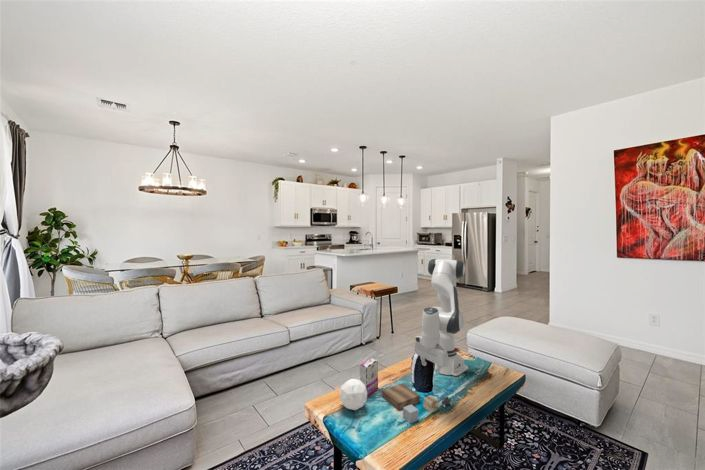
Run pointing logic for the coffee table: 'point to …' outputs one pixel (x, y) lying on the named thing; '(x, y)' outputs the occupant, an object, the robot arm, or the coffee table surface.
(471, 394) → the coffee table surface
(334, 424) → the coffee table surface
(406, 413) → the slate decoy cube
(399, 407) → the walnut base block
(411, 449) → the coffee table surface
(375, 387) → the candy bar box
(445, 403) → the car cutout
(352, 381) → the geodesic sphere
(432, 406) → the maple cube
